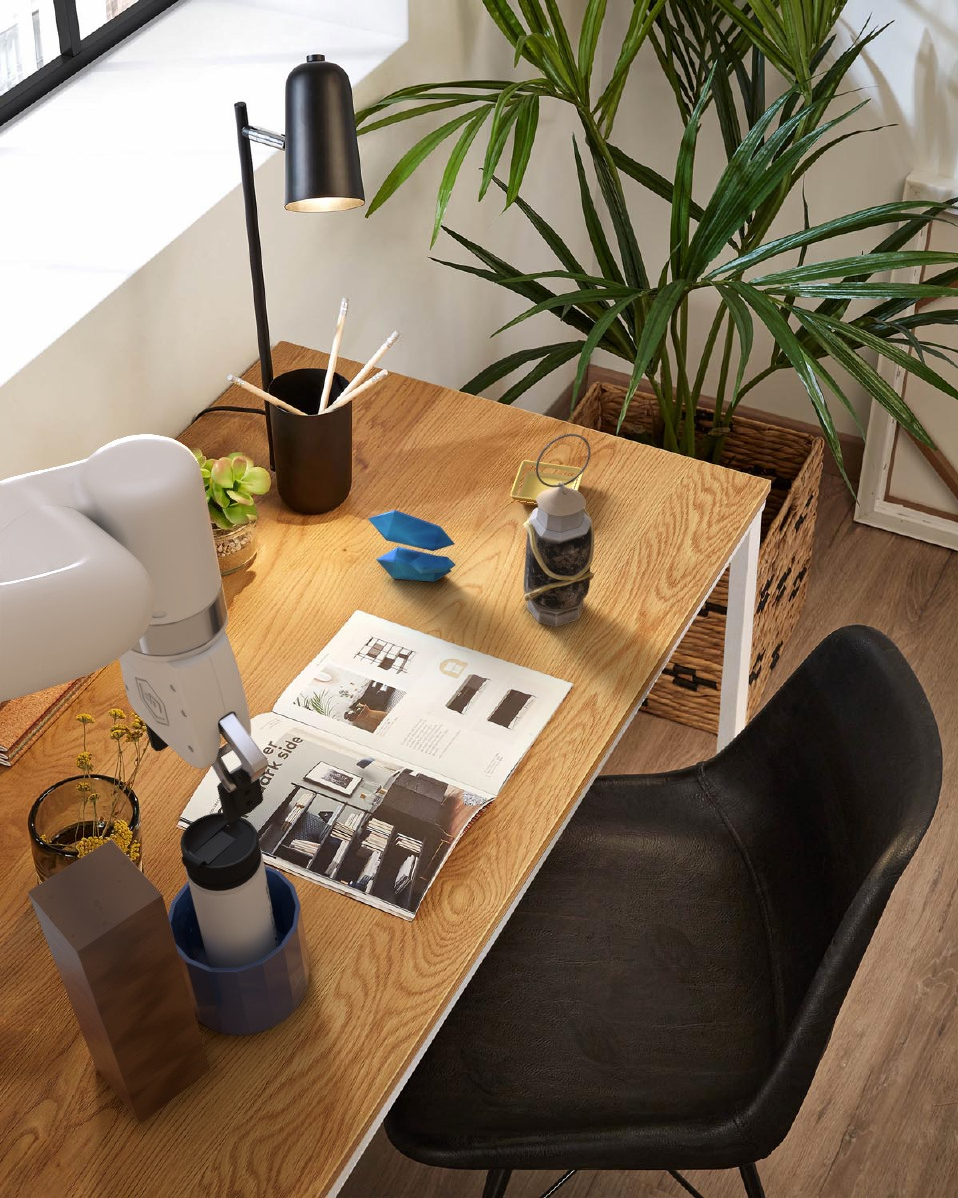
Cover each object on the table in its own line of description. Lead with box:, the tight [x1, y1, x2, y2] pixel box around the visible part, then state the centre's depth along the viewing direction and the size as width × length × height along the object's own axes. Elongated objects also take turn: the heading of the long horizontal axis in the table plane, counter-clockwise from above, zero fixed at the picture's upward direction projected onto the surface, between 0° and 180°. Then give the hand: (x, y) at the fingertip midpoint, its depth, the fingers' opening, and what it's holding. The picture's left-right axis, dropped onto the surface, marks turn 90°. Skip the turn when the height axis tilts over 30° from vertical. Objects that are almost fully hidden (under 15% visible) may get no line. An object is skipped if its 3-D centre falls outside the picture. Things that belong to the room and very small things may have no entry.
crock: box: [167, 864, 311, 1037], centre depth 112 cm, size 11×11×10 cm
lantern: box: [522, 433, 595, 628], centre depth 146 cm, size 9×8×25 cm
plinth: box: [27, 839, 211, 1125], centre depth 101 cm, size 7×7×25 cm
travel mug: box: [180, 811, 279, 968], centre depth 108 cm, size 6×7×20 cm
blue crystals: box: [367, 509, 457, 583], centre depth 156 cm, size 7×9×12 cm
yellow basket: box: [509, 459, 585, 507], centre depth 171 cm, size 9×9×2 cm
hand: (206, 775), depth 97 cm, fingers open, 9 cm apart
